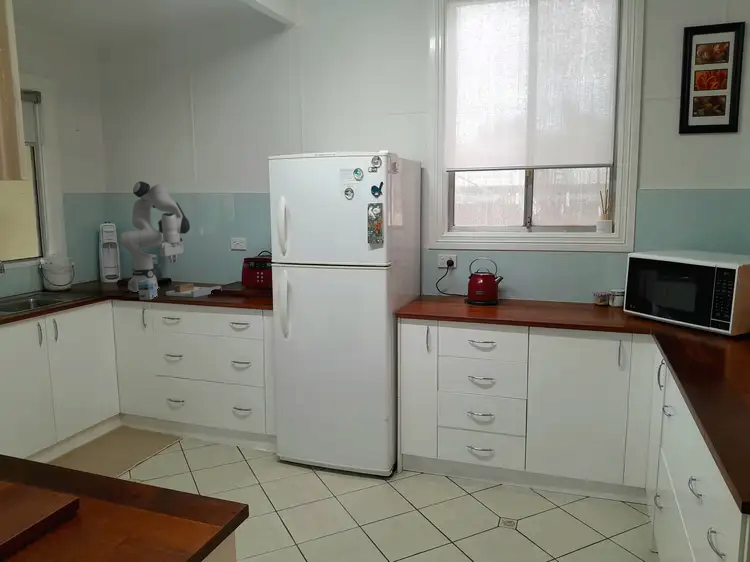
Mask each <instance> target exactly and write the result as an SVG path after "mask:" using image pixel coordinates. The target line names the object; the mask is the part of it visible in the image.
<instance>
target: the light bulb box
mask: <svg viewBox="0 0 750 562" xmlns="http://www.w3.org/2000/svg"><path fill="white" fill-rule="evenodd" d="M156 279H157V278H156ZM156 279H149V280H143V281H140V282H138V288H139V292H138V295H139V296H138V297H139V300H140V301H146V300H147V301H148V300H149V301H150V300H152V299H155V298H154V297H156V296H157V297H158V290H157V287H156ZM157 297H156V298H157Z"/></svg>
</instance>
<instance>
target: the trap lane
mask: <svg viewBox="0 0 750 562" xmlns="http://www.w3.org/2000/svg"><path fill="white" fill-rule="evenodd" d="M220 288H221V289H222V285H217V286H211V287H207V286H206V287H204V286H201V287H200V286H194V290H191V291H185V292H175V289H174V290H170V291H165V295H166V296H172V297H186V298H197V297H202V296H206V295H212V294H211V291H212V290H214V289H220Z"/></svg>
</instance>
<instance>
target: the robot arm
mask: <svg viewBox="0 0 750 562" xmlns="http://www.w3.org/2000/svg"><path fill="white" fill-rule="evenodd" d="M132 191H133V192H132V193H133V195H135V196H136V198H140V199H137V200H136V201H135V202H134V204H133V207H132V217H131V218H132V219H131V220H132V222H131V224H132V225H133V227H135V228H136V229H137V230H127V231H124V232H121V233H120V235H119V237H118V240H119V244H120V245H121V246H122V248H124V249H125V250H126V251H128V252H129V253H130V255H131V256H132V257H131V258H132V259H133V265H134V270H133V271H132V273H133V276H132V277H131V279H130V280H129V281H128V283H127V289H129V290H131V291H133V292H137V291H139V288H138V282H140V281H143V280H149V279H156V287H157V289H158V288H159V289H160V286H159V285H158V280H157V277H156V275H155V273H156V272H155V271H156V270H155V268H154V261H153V256H152V255H151V254H149V253H148V252H145V251H143V249H142V248H153V247H157V246H159V253H160V257H167V258H168V260H169V264H172V263H173V264H174V263H177V258H178V255H182V254H184V252H185V249H184V238H183V237H181V236H179V234H181V235H182V234H187V233H188V232H189V231H190V229H191V224H190V223H191V222H190V221H189V219H188V218H187V217H186V215H185V213H184V211H183V210H182V208H181V207H180V204H179V203H178V202H177V201H175V200H173V198H171V196H170V192H169V190H168V189H167V187H166V186H165V185H164V184H162V183H159V184H158V183H157V184H155V185H151V184H149V183H147V182H145V181H138V182H136V183H135V184H134V185H133V188H132ZM152 208H153V209H156V210H158V211H160V212H165V213H162V214H161V219H160V220H158V222H157V225H158V229H156V228H155V227H154V226H153V225H152V219H151V217H152V216H151V215H152V213H151V209H152ZM159 289H158V290H159Z"/></svg>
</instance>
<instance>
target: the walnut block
mask: <svg viewBox="0 0 750 562" xmlns="http://www.w3.org/2000/svg"><path fill="white" fill-rule="evenodd" d="M194 287H195V286H194V283H193V282H192V283H191V282H186V283H182V284H181V283H180V284H176V285H174V290H175V292H185V291H191V290H194Z"/></svg>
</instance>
